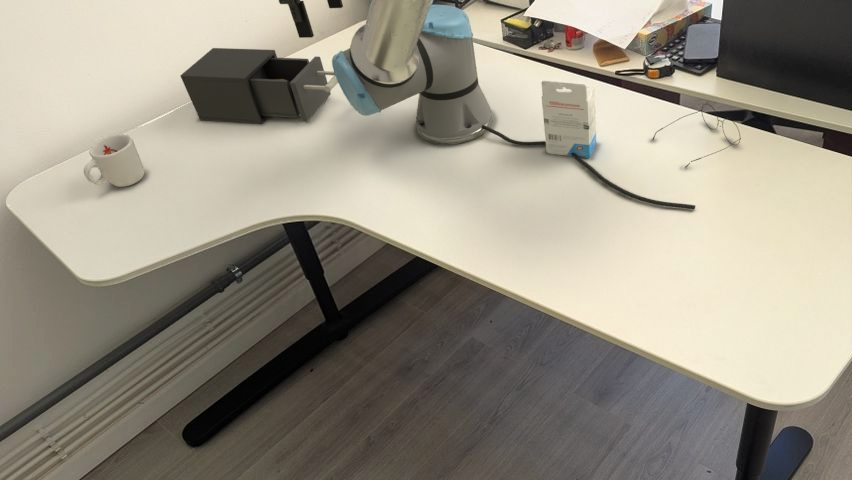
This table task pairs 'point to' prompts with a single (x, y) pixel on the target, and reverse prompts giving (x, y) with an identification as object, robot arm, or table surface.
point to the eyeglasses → (709, 127)
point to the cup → (115, 161)
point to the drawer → (304, 84)
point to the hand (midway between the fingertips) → (322, 21)
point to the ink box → (569, 118)
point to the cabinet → (226, 84)
